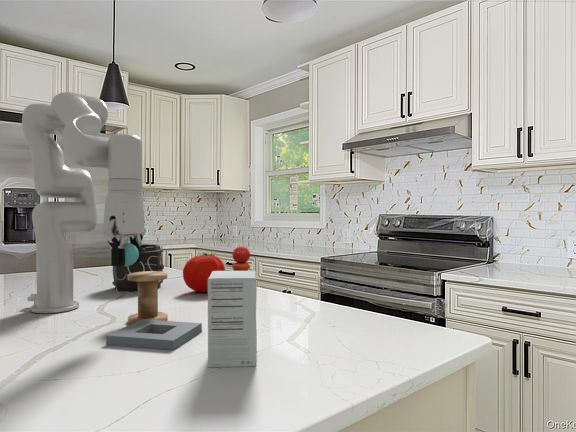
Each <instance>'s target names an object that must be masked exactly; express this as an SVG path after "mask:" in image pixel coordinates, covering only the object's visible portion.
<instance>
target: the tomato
mask: <svg viewBox="0 0 576 432" xmlns="http://www.w3.org/2000/svg"><path fill="white" fill-rule="evenodd" d="M212 271H226V267H225V264H224V262H223V260H221V257H219V256H217V255H215V254H214V253H210V254H209V253H207V252H202V254H201V255H200V254H199V255H195V256H192V257H191V258H190V259H189V260H187V261H186V263H185V265H184V266H183V269H182V278H183V281H184V283H185V285H186V286H187V287H188V288H189V289H191V290H192V291H195V292H199V293H208V278H209V277H210V275H211V273H212Z"/></svg>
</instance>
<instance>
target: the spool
mask: <svg viewBox="0 0 576 432" xmlns="http://www.w3.org/2000/svg"><path fill="white" fill-rule="evenodd" d="M166 279H168V272H166V271H163V272H162V271H144V272H135V273H130V274H128V280H129V281H136V282H138V292H137V312H136V313H133V314H131V315H129V316H127V324H128V325H131V324H133V323H135V322H137V321H140V320H142V319H144V320H160V321H169V320H168V319H169V318H168V313H166V312H162V311H159V297H158V296H159V294H158V293H159V290H158V289H159V288H158V280H163V281H164V280H166Z"/></svg>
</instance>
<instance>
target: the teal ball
mask: <svg viewBox="0 0 576 432" xmlns="http://www.w3.org/2000/svg"><path fill="white" fill-rule="evenodd" d="M122 249H125V265H124V266H130V265H132V264H134V263H135V262H136V261H137V259H138V256H139V252H138V249H137V248H136V246H134V245H133V244H131V243H129V242H124V245H123V248H122Z"/></svg>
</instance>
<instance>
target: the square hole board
mask: <svg viewBox="0 0 576 432" xmlns="http://www.w3.org/2000/svg"><path fill="white" fill-rule="evenodd" d="M202 324H203V323H201V322H191V321H190V322H188V321H173V320H172V321H171V320H167V321H160V320H144V319H142V320H140V321H137V322H135V323H133V324H131V325H130V324H128V325H126V326H125V327H121V328H120V329H117V330H115V331H112V332H111V333H108V334H106V335H105V338H106V339H105V345H107V346H120V347H130V348H131V347H133V348H142V349H144V348H145V349H156V350H168V351H175V350H176V349H177V348H179V347H180V346H182V345H183V344H185V343H186V342H188V341H189V340H191V339H192V338H194V337H195V336H198V334H200V333H202V331H203V329H202V328H203V326H202Z"/></svg>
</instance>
